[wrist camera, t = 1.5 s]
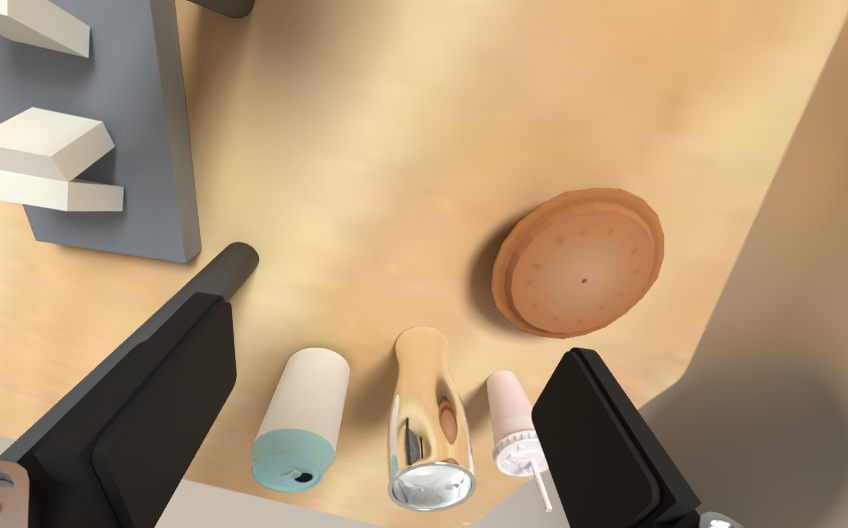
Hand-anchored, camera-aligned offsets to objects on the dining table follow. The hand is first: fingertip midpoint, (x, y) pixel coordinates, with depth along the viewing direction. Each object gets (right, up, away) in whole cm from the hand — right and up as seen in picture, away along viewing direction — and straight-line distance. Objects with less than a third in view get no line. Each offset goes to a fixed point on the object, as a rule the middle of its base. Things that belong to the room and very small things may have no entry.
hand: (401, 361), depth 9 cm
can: (-11, -9, +29) cm, 32 cm away
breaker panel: (-23, +14, +15) cm, 31 cm away
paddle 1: (-22, +17, +11) cm, 29 cm away
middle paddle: (-23, +12, +13) cm, 29 cm away
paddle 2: (-24, +8, +15) cm, 30 cm away
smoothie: (+10, -12, +32) cm, 35 cm away
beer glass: (0, -7, +28) cm, 29 cm away
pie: (+14, +4, +23) cm, 28 cm away
